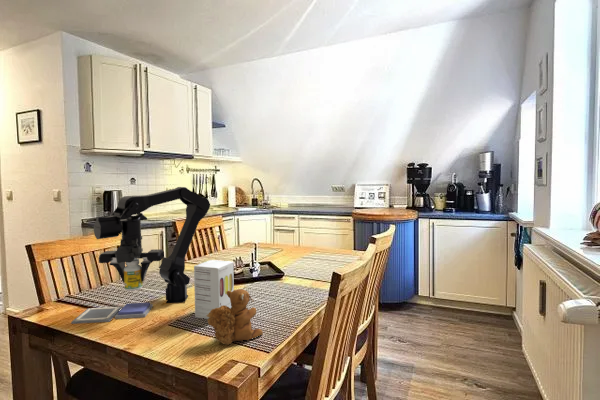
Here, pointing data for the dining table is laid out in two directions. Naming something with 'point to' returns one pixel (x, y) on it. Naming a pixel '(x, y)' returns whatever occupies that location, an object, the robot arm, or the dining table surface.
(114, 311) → the marked board
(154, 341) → the dining table surface
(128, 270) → the supplement bottle
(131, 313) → the ink pad
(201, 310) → the supplement box
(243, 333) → the stuffed squirrel
